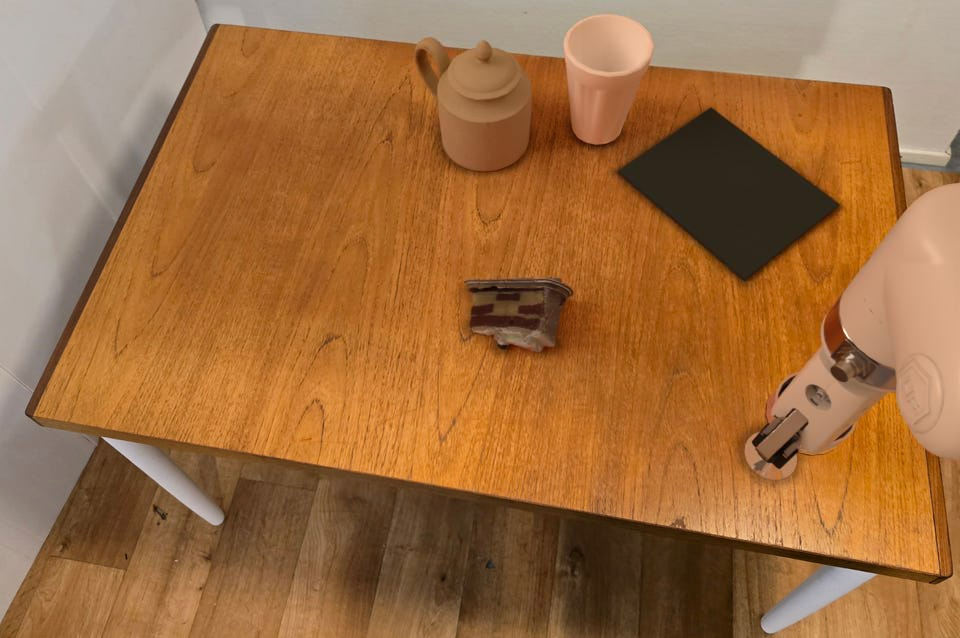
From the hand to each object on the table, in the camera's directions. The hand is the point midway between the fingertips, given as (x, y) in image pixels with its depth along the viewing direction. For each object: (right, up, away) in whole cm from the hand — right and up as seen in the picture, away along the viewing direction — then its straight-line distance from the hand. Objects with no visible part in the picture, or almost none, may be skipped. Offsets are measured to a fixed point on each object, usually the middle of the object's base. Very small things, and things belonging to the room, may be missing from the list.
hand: (795, 428), depth 66 cm
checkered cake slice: (-24, +9, +14) cm, 30 cm away
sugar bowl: (-29, +32, +28) cm, 52 cm away
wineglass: (0, -4, +6) cm, 7 cm away
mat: (+1, +25, +22) cm, 33 cm away
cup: (-13, +34, +28) cm, 46 cm away
